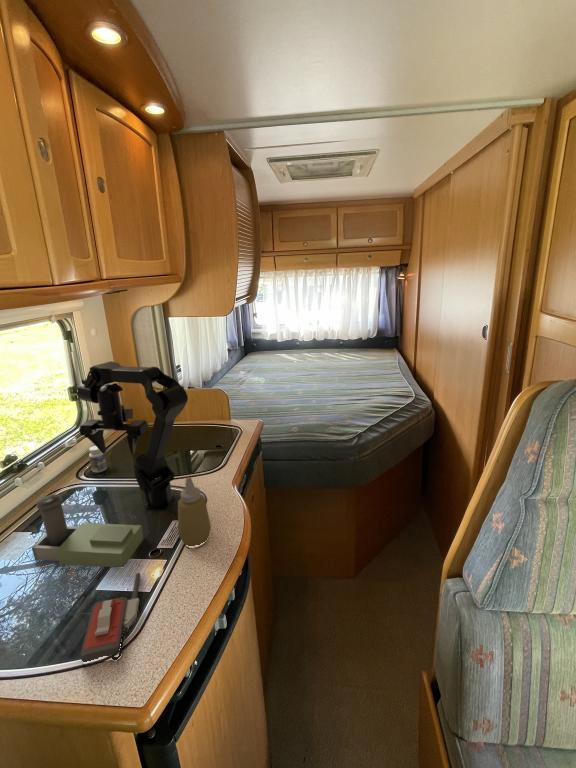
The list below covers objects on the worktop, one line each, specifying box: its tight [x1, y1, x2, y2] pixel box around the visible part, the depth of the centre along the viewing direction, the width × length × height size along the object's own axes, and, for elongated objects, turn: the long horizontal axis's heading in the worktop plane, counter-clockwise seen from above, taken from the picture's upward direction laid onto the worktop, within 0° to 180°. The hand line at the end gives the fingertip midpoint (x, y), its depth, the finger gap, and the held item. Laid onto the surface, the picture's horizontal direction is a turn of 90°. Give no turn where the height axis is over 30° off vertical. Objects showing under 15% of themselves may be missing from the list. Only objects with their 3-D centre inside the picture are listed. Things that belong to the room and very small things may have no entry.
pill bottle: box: [88, 445, 108, 473], centre depth 131 cm, size 5×5×8 cm
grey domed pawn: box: [36, 493, 69, 547], centre depth 93 cm, size 5×5×14 cm
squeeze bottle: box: [177, 476, 212, 546], centre depth 94 cm, size 8×8×18 cm
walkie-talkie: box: [79, 572, 141, 662], centre depth 75 cm, size 9×4×20 cm
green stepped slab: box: [31, 522, 144, 568], centre depth 94 cm, size 23×10×5 cm, turn 84°
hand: (118, 453), depth 116 cm, fingers open, 9 cm apart
